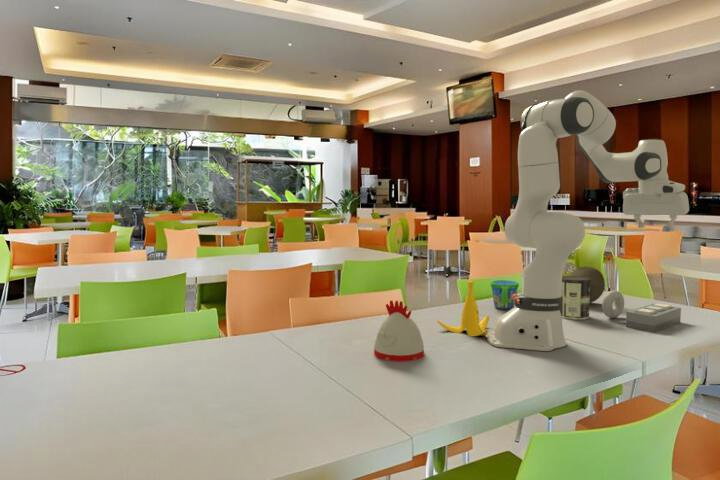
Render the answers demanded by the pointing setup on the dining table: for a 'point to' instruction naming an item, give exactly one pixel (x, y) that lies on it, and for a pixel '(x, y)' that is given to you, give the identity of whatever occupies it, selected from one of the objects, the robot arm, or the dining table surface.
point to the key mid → (655, 308)
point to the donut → (608, 306)
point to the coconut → (592, 281)
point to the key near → (646, 311)
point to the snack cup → (504, 293)
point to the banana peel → (470, 317)
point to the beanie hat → (398, 336)
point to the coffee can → (575, 297)
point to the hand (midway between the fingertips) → (655, 227)
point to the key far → (663, 306)
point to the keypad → (653, 319)
